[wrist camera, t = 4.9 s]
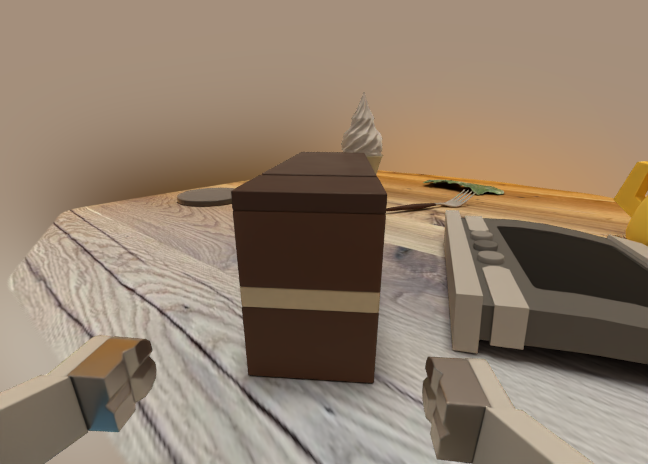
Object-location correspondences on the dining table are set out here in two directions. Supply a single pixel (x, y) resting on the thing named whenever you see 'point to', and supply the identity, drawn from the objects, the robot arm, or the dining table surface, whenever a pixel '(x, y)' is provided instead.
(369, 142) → the ice cream cone
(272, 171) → the cake loaf
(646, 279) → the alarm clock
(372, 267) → the cake slice
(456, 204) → the fork
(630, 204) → the teapot
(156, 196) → the dining table surface
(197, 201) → the plate
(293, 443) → the dining table surface
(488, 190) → the lettuce leaf
